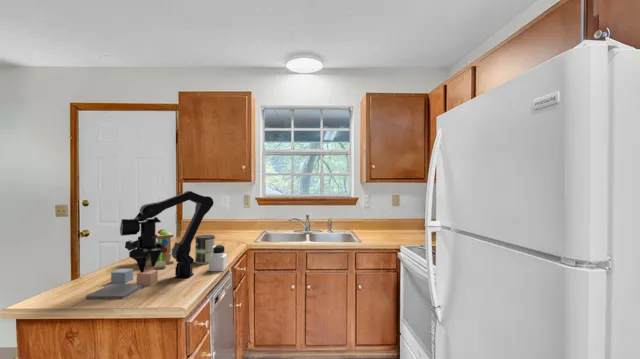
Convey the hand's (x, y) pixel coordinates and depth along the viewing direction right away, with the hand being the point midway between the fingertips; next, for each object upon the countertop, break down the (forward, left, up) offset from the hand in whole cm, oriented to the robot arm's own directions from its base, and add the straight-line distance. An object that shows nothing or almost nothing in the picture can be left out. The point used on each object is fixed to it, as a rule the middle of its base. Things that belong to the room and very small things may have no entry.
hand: (147, 269), depth 139 cm
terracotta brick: (0, 0, -6) cm, 6 cm away
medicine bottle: (-24, -22, -6) cm, 33 cm away
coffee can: (-12, -38, -6) cm, 40 cm away
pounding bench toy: (+11, -31, -6) cm, 34 cm away
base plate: (+6, +12, -6) cm, 15 cm away
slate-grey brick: (+12, -2, -6) cm, 14 cm away
